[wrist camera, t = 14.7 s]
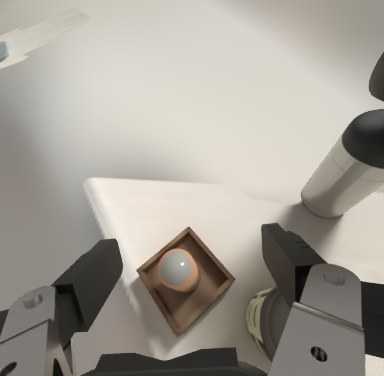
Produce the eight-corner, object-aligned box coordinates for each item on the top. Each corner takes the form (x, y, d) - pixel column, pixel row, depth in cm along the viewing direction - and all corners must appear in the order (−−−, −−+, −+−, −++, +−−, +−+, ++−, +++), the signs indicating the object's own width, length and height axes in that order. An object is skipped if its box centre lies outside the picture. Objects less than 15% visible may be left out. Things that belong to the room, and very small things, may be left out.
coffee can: (322, 353, 30) (391, 386, 18) (258, 368, 30) (284, 411, 18) (292, 282, 35) (329, 271, 23) (237, 294, 35) (247, 289, 24)
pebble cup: (188, 255, 39) (179, 240, 31) (207, 278, 36) (202, 270, 28) (166, 274, 38) (150, 265, 29) (183, 300, 35) (171, 297, 26)
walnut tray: (191, 231, 43) (189, 226, 40) (233, 281, 37) (235, 279, 34) (142, 272, 39) (136, 270, 36) (180, 334, 33) (176, 337, 30)
